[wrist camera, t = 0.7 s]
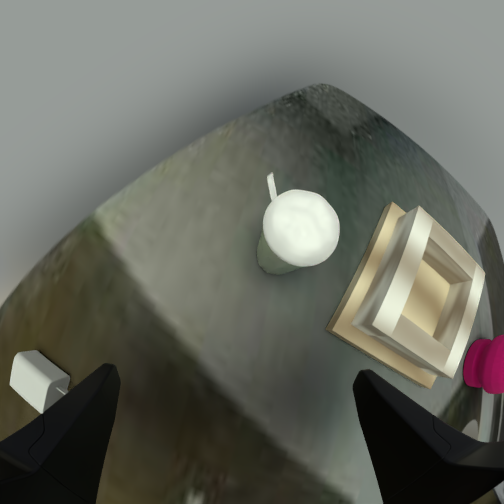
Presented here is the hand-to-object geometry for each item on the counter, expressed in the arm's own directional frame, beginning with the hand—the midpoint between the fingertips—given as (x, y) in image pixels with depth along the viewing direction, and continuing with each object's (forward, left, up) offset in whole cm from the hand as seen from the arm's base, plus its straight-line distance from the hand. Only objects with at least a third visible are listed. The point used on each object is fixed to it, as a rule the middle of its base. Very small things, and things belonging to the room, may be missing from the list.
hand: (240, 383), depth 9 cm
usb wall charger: (0, +17, -13) cm, 22 cm away
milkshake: (+6, -6, -13) cm, 15 cm away
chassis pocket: (-3, -18, -13) cm, 22 cm away
